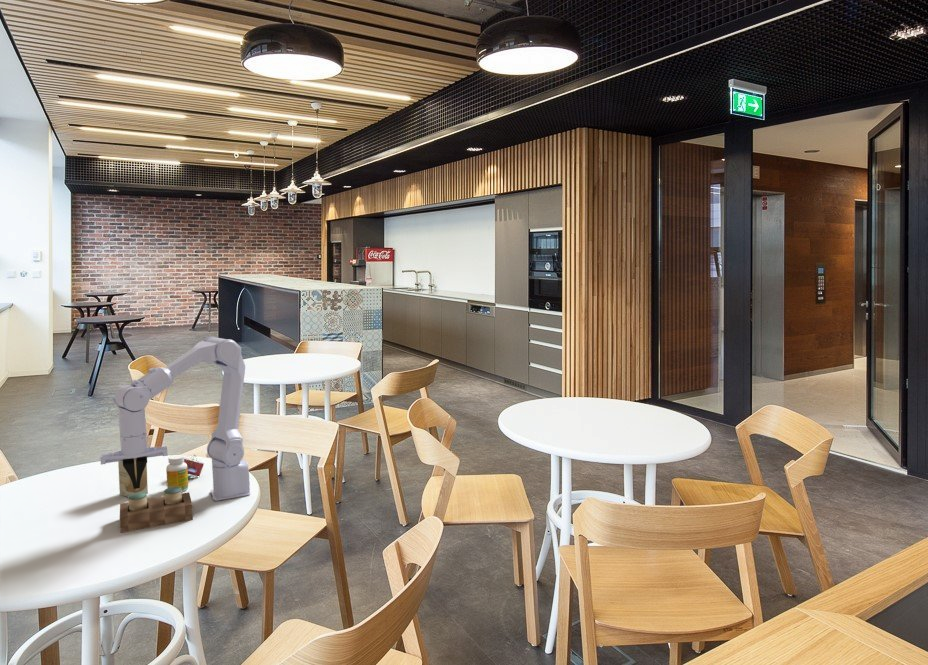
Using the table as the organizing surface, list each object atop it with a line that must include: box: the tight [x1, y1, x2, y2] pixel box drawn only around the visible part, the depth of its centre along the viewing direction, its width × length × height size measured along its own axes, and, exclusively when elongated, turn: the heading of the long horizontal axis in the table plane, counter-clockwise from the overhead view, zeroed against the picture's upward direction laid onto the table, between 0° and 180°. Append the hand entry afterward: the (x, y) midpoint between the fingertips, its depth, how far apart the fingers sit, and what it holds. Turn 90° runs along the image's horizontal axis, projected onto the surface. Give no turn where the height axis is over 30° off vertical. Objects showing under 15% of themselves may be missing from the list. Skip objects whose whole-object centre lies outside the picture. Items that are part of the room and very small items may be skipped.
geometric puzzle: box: [184, 455, 205, 478], centre depth 185 cm, size 7×7×8 cm
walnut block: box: [119, 491, 194, 533], centre depth 156 cm, size 16×9×4 cm, turn 118°
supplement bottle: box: [165, 454, 189, 493], centre depth 175 cm, size 5×5×10 cm
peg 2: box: [163, 487, 183, 506], centre depth 157 cm, size 4×4×4 cm
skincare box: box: [117, 459, 149, 498], centre depth 171 cm, size 6×4×12 cm
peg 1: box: [127, 492, 148, 512], centre depth 153 cm, size 4×4×4 cm
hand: (136, 487), depth 153 cm, fingers closed
